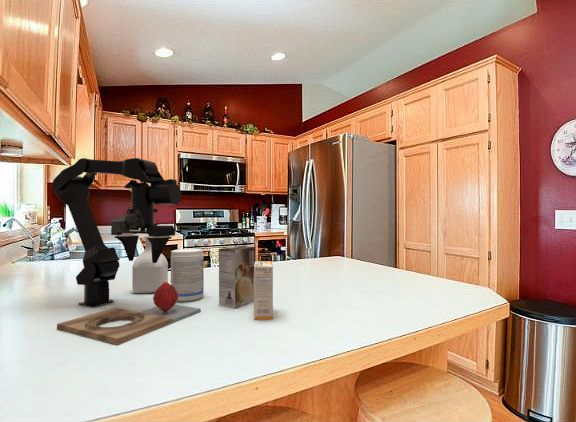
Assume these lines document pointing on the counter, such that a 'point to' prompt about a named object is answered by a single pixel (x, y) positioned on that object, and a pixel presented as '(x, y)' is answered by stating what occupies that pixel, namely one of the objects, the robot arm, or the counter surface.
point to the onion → (165, 296)
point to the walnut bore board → (117, 334)
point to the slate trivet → (174, 312)
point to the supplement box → (263, 290)
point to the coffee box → (236, 276)
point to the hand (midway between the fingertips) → (142, 261)
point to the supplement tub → (187, 274)
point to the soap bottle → (148, 271)
